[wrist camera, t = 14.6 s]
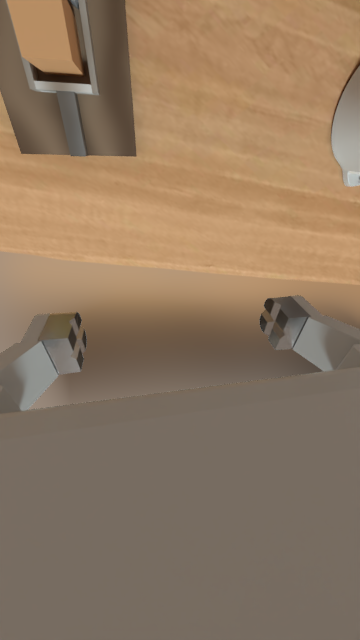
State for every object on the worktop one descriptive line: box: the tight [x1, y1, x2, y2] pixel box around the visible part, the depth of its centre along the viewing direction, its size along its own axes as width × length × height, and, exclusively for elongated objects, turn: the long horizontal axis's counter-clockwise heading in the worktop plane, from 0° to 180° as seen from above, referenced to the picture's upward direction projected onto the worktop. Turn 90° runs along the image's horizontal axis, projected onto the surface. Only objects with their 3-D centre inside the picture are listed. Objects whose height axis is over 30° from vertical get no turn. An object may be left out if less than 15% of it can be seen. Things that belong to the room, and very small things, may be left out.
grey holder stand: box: [0, 0, 136, 156], centre depth 23 cm, size 14×18×4 cm
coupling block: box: [7, 0, 85, 77], centre depth 21 cm, size 4×4×7 cm
